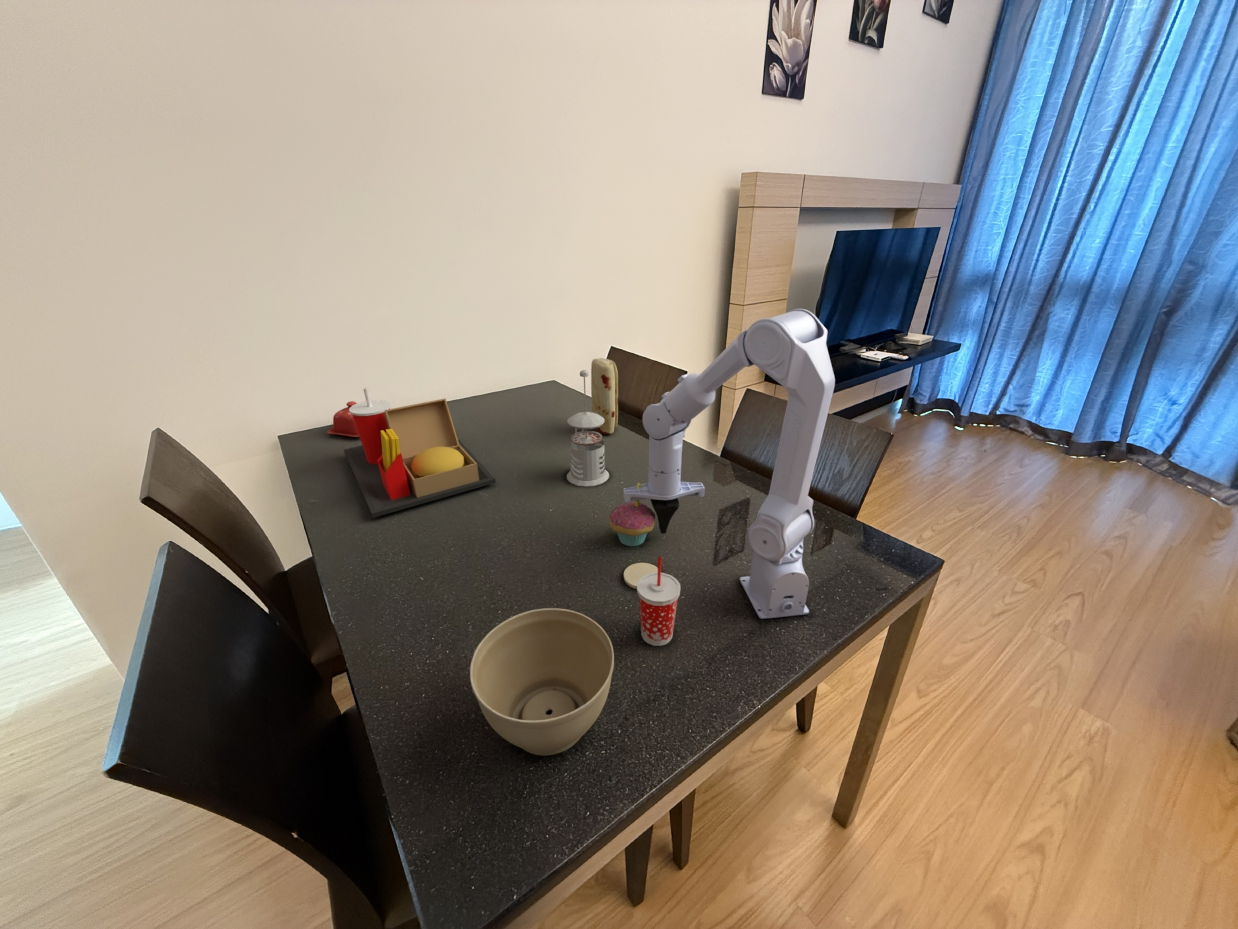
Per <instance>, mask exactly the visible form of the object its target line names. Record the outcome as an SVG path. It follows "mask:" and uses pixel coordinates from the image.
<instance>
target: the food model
mask: <svg viewBox="0 0 1238 929" xmlns="http://www.w3.org/2000/svg"><path fill="white" fill-rule="evenodd" d="M590 367H591V368H590V372H591V373H590V393H591V394H590V395H591V412H592V413H596V414H598V415H600V416H601V417H603V418H604V420H605V422H604V423H603V425H602V426H600V427H598V428H595V429H596V430H595V431H596V432H597V433H600V434H601V435H602V436H604V435H613V433H614V432H615V430H616V429H617V426H618V423H619V422H618V420H619V373H618V368H617V364H616V362H615V361H614V360H612V359H609V358H604V357H599V358H594V359H592V360H591V366H590Z"/></svg>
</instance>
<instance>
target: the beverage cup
mask: <svg viewBox="0 0 1238 929" xmlns="http://www.w3.org/2000/svg"><path fill="white" fill-rule="evenodd" d="M657 568H658V573H655V572H654V573H650V574H646V575H645V576H643V577H641V578H640V580H639V581H638V582H637V589H636V593H637V595H638V600H639V601H638V603H639V617H640V632H641V633H640V634H641V638H642V640H643V641H644V642H645V643H647V644H649V645H651V646H655V647H657V646H658V647H661V646H665V645H667V644H669V643H670V642H671V641H672V639H673V636H674V628H675V620H676V614H677V606H678V599H679V597H680V595H681V583H680V582H679V580H678V579H677V578H676V577H675V576H673V575H671V574H668V573H665V572H662V556H661V555H659V556H658V557H657Z"/></svg>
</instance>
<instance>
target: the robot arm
mask: <svg viewBox="0 0 1238 929" xmlns="http://www.w3.org/2000/svg"><path fill="white" fill-rule="evenodd" d="M828 333H829V332H828V329H827V328H826V327H825V326H824V324H823V323H822V322H821V321H820V319H819V318H818V317H817V315H815V314H814V313H813V312H812V311H810V310H809V309H805V308H794V309H791V310H789V311H787V312H785V313H782V314H779V315H776V316H775V315H774V316H771V317H769V318H768V317H766V318H765V317H764V318H761V319H758V320H756V321H755V322H753V323H752V324H750V326H749V328H747V329H745V330H743V331H742V332H740V333H739V334H738V335H737V336H736V337H735V339H734V340H732V342H731V343H730V344H729V345H728V346H726V348H725V349H724V350H723V351H722V352H721V353H719V355H718V356H716V358H715V359H714V360H713V361H712V362H711V363H710V364H709V365H708V366H707V367H706V368H705V369H704V370H703V371H702V372H701V373H697V372H691V373H689V374H688V373H684V374H683V375H681V376H679V377H678V378H677V382H678V383H677V384H676V386H675V387H674V388H673V389H671V390H670V391H667V392H664V393H663V394H662V395H661V398H662V399H661V400H660V402H657V403H652V404H649V405H648V406H647V405H646V406H647V407H646V409H645V410H644V411H643V413H642V426H643V428H644V430H645V432H646V433H647V435H649V437H648V438H649V439H648V476H647V477H648V478H647V479H648V481H647V482H646V483H642V484H641V488H640V489H639V488H638V487H637V485H635V486H630V487H623V490H622V491H623V492H622V493H623V494H622V498H623V501H624V503H629V502H632V501H635V500H639V501H641V500H642V501H643V500H650V503H651V506H652V508H653V511H654V513H655V515H656V517H657V521H658V529H659V532H660V534H663V535H664V534H667V530H668V528H669V524H670V522H671V520H672V518H673V516H674V514H676V512H677V511H678V509H679V507H680V501H679V498H681V497H694V496H697V497H698V498H704V497H705V490H706V488H705V486H704V484H703V482H691V481H690V482H689V481H681V480H682V460H683V444H684V443H683V442H684V438H685V435H686V430H687V429H688V428H689V427H690V425H691V423H692V420H693V419H695V418H696V417H698V415H699V414H701V413H702V412H703V411H704V410H706V409H707V408H709V406H711V405H712V404H713V403H714V402H715V400H716V390H717V389H719V388H720V387H721V386H723V385H724V384H725V383H726V382H728V381H729V380H730V379H732V378H733V377H735V376H736V375H737V374H738V373H740V371H742V370H743V369H744V368H750V367H752V366H756V367H757V368H758V369H760V370H761V371H762V372H763V373H765V374H766V375H768V376H769V377H770V378H772V379H773V380H774V381H776V382H777V383H778V384H779V385H781V386H782V387H783V388H784V389H785V390H786V392H787V393H788V397H787V401H786V407H785V411H784V417H783V421H782V427H781V432H780V436H779V442H778V447H777V450H776V451H777V452H776V456H775V462H774V465H773V466H774V467H773V472H772V475H771V482H770V487H769V492H768V495H767V496H766V498H765V500H764V501H763V503H762V505H761V506H760V508H759V509H758V512H757V515H756V519H755V520H754V522H753V523H752V524H751V525H750V526H749V527H748V530H747V541H748V544H749V547H750V548H751V550H753V551H752V556H751V557H752V558H751V565H750V572H749V576H741V577H739V582H740V584H741V586H742V588H743V591H745V594H746V596H747V597H748V599H749V602H750V603H751V605H752V607H753V609H754V611H755V613H756V615H757V617H758V618H759V619H761V620H765V619H774V618H783V617H794V616H804V615H809V613H810V609H809V608H808V606H807V605H806V602H807V597H808V592H809V588H810V580H809V577H808V575H807V574H806V572H805V569H804V565H803V554H804V539H805V537H807V536H808V535H809V534H811V533H812V532H813V530H814V528H815V518H814V513H813V506H814V499H813V498H811V497H810V496H809V494H810V493H809V492H810V488H811V485H812V480H813V476H814V472H815V468H816V464H817V459H818V456H819V451H820V447H821V442H822V439H823V435H824V430H825V427H826V422H827V418H828V414H829V410H830V407H831V402H832V399H833V395H834V390H835V386H836V378H835V374H834V369H833V366H832V361H831V358H830V354H829V350H828V345H827V340H828Z"/></svg>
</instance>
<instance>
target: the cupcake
mask: <svg viewBox="0 0 1238 929" xmlns="http://www.w3.org/2000/svg"><path fill="white" fill-rule="evenodd" d="M641 481H642V480H641V479H639V480H638V482H637V484H636V486H637V487H638V488H639V489H640V488H641V485H642V484H641ZM655 523H656V513H655V511H654V510H652V508H651V507H649V506H648V505H647V504H644V503H642V502H640V500H634V501H631V502H629V503H625V502H622V504H619V505H617V506H616V507H615V508H614V509H612V510H611V512H610V515H609V518H608V525H609V527H610V528H611V530H612V531H613V532H615V533H616V534H617V536H618V539H619V542H621V544H623V545H624V546H628V547H637V546H640V545H642V544H643V543H644V542H645V541H646V537H647V535H648V533H650V532H652V531H653V528H654V526H655Z"/></svg>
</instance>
